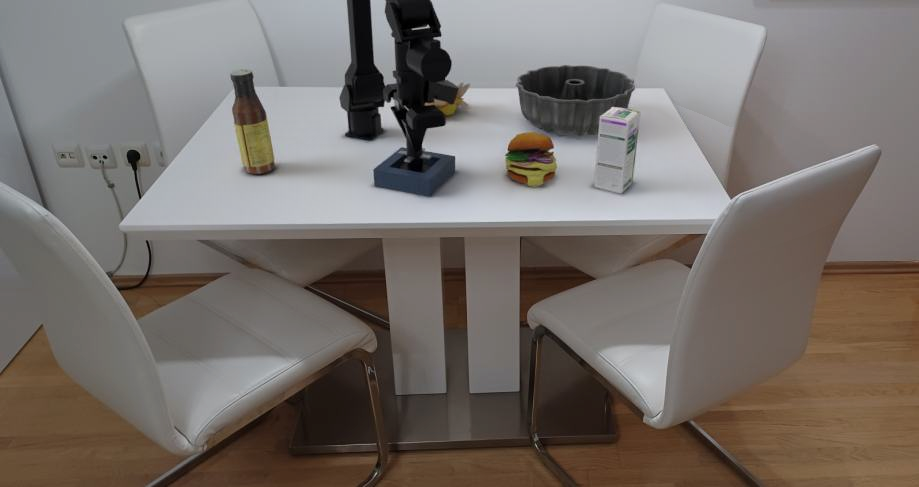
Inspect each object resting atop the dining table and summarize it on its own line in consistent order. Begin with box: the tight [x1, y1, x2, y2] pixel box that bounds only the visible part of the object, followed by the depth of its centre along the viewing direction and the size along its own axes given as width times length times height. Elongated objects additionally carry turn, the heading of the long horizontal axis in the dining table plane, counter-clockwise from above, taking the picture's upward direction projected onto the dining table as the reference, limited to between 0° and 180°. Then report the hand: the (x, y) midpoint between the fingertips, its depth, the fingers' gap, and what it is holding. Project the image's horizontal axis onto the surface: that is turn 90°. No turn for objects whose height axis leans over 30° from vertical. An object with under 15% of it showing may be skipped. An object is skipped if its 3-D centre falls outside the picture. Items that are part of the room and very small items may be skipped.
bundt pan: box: [515, 64, 636, 137], centre depth 163 cm, size 26×26×10 cm
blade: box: [398, 132, 432, 173], centre depth 137 cm, size 7×7×10 cm
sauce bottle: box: [229, 68, 275, 175], centre depth 139 cm, size 6×6×20 cm
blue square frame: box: [372, 146, 456, 197], centre depth 139 cm, size 12×12×4 cm
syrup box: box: [593, 107, 641, 194], centre depth 133 cm, size 6×6×14 cm
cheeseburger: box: [504, 131, 558, 188], centre depth 139 cm, size 10×11×10 cm
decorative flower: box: [425, 82, 471, 117], centre depth 169 cm, size 15×11×10 cm
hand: (414, 148), depth 136 cm, fingers closed on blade, 3 cm apart
